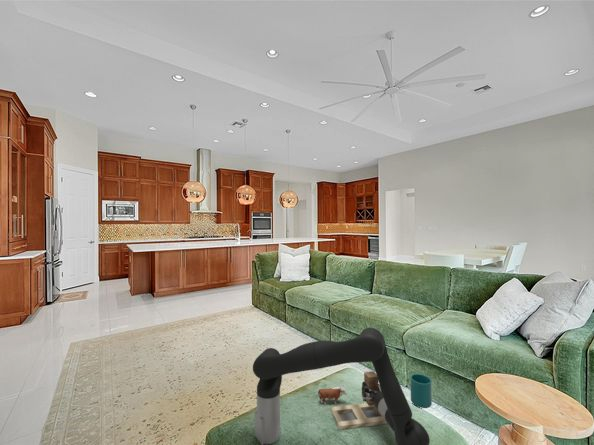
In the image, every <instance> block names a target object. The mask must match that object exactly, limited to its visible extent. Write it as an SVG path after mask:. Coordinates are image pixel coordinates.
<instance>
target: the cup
mask: <svg viewBox="0 0 594 445" xmlns="http://www.w3.org/2000/svg"><path fill="white" fill-rule="evenodd" d="M432 390H433V389H432V379H431V378H430V377H429V376H427V375H425V374H421V373H413V374H411V375H410V401H411V403H412V404H413V405H414V406H415V407H418V408H421V409H429V408H431V407H432V405H433V404H432V402H433V399H432V398H433V397H432Z"/></svg>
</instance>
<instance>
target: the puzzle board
mask: <svg viewBox="0 0 594 445" xmlns="http://www.w3.org/2000/svg"><path fill="white" fill-rule="evenodd" d="M330 412H331V414H332V417H333V419H334V421H335V423H336V426H337V428H338V430H339V431H342V430H343V431H344V430H350V429H357V428H358V429H359V428H367V427H373V426H380V425H389V424H388V423H387V422H386V421H385V420H384V418H383V417H382V416H381V414H380V413H379V412H378V410H377V409H376V407H375V406H374V405H373V406H369V405H368V404H367V402H364V403H357V404H356V403H355V404H346V405H340V406H339V405H338V406H332V407H330Z"/></svg>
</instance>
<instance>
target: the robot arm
mask: <svg viewBox="0 0 594 445" xmlns="http://www.w3.org/2000/svg"><path fill="white" fill-rule="evenodd" d="M388 352H389V351H388V348H387V345H386V340H385V338H384V336H383V334H382V332H381V331H380V330H378V329H376V328H374V327H367V328H366V327H365V328H364V329H363V330H362V331H361V332H360V333H359V335H358V336H356V337H353V338H350V339H346V340H341V341H334V340H316V341H311V342H306V343H304V344H301V345H299V346H297V347H295V348H292V349H291V350H289V351H286V352H284V353H280V352H279V350H278V349H276V348H273V347H268V348H266V349H265V350H264V351H262V352H261V353H260V354H259V355H258V356H257V357H256V358H255V360H254V362H253V365H252V372H253V375H254V376H255V377H257V378H258V379H259V380H258V383H257V385H256V411H254V437H255V438H256V440H257V441H258V442H259V444H260V445H271V444H275V443H276V442H277V441H278V440H279V439H280V437H281V386H282V381H283V376H284V375H289V374H294V373H301V372H308V371H314V370H320V369H321V370H322V369H325V368H326V369H327V368H330V367H331V368H332V367H335V366H340V365H344V364H352V363H371V364H372V365H373V369H374V372H375V373H376V374H377V377H378V388H379V389H378V390H374V389H372V388H369V387H368V386H367V385H366V383H365V382H364V381H362V383H361V397H362V401H363V402H366V399H368V400H370V401H372V402H373V404H374V406H375V407H376V409H377V410H378V412H379V413H380V414H381V416H382V417H383V418H384V420H385V421H386V422H387V423H388V424H387V425H388V426H389V427H390V428H391V430H392V431H393V432H394V439H395V443H396V445H430V443H431V442H430V441H431V440H430V436H429V433H428V431H427V429H426V428H425V427H424V426H423V425H422V424H421V423H420V422H418V421H417V420H415V419H414V418H413V412H412V409H411V406H410V404H409V402H408V400H407V397H406V395H405V393H404V391H403V389H402V387H401V384H400V382H399V380H398V378H397V375H396V372H395V370H394V367H393V365H392V363H391V360H390V356H389V353H388ZM367 394H368V395H367Z"/></svg>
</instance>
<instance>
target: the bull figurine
mask: <svg viewBox="0 0 594 445" xmlns="http://www.w3.org/2000/svg"><path fill="white" fill-rule="evenodd" d="M317 394H318V396H319V401H320V402H321V404H324V405H327V402H326V399H327V400H328V401H330V400H333V399H334V404H335V405H337V402H338V401H339V399H340V398H341V397H342V396H345V395H347V394H348V392H347V391H346V388H345V387H344V386H336V387H329V388H321V389H319V390H318V392H317Z"/></svg>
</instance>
